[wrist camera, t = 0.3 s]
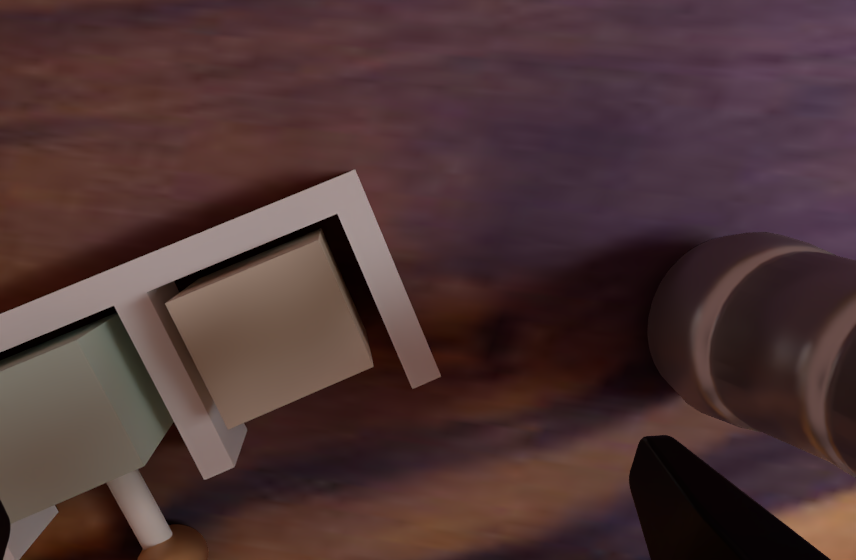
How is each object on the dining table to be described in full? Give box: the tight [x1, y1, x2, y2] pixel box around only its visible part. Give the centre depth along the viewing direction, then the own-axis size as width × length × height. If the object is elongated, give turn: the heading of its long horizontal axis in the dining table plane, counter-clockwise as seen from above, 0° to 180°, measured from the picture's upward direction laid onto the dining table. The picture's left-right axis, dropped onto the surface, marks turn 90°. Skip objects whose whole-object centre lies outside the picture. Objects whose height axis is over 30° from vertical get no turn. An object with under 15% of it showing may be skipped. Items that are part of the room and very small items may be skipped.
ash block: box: [165, 228, 374, 430], centre depth 20 cm, size 4×4×4 cm
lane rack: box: [0, 170, 441, 560], centre depth 21 cm, size 7×15×3 cm, turn 112°
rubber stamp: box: [0, 313, 208, 560], centre depth 20 cm, size 10×4×4 cm, turn 22°
